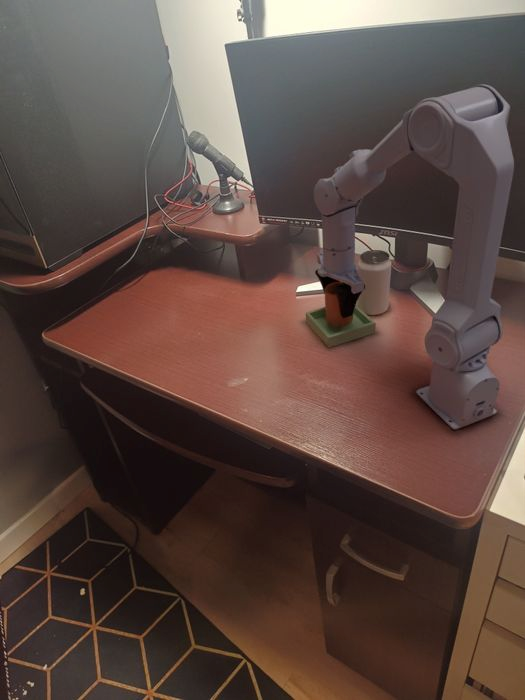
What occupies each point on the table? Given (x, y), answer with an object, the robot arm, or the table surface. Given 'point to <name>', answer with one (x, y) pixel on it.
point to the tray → (343, 334)
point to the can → (374, 282)
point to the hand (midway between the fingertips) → (339, 308)
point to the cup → (334, 307)
